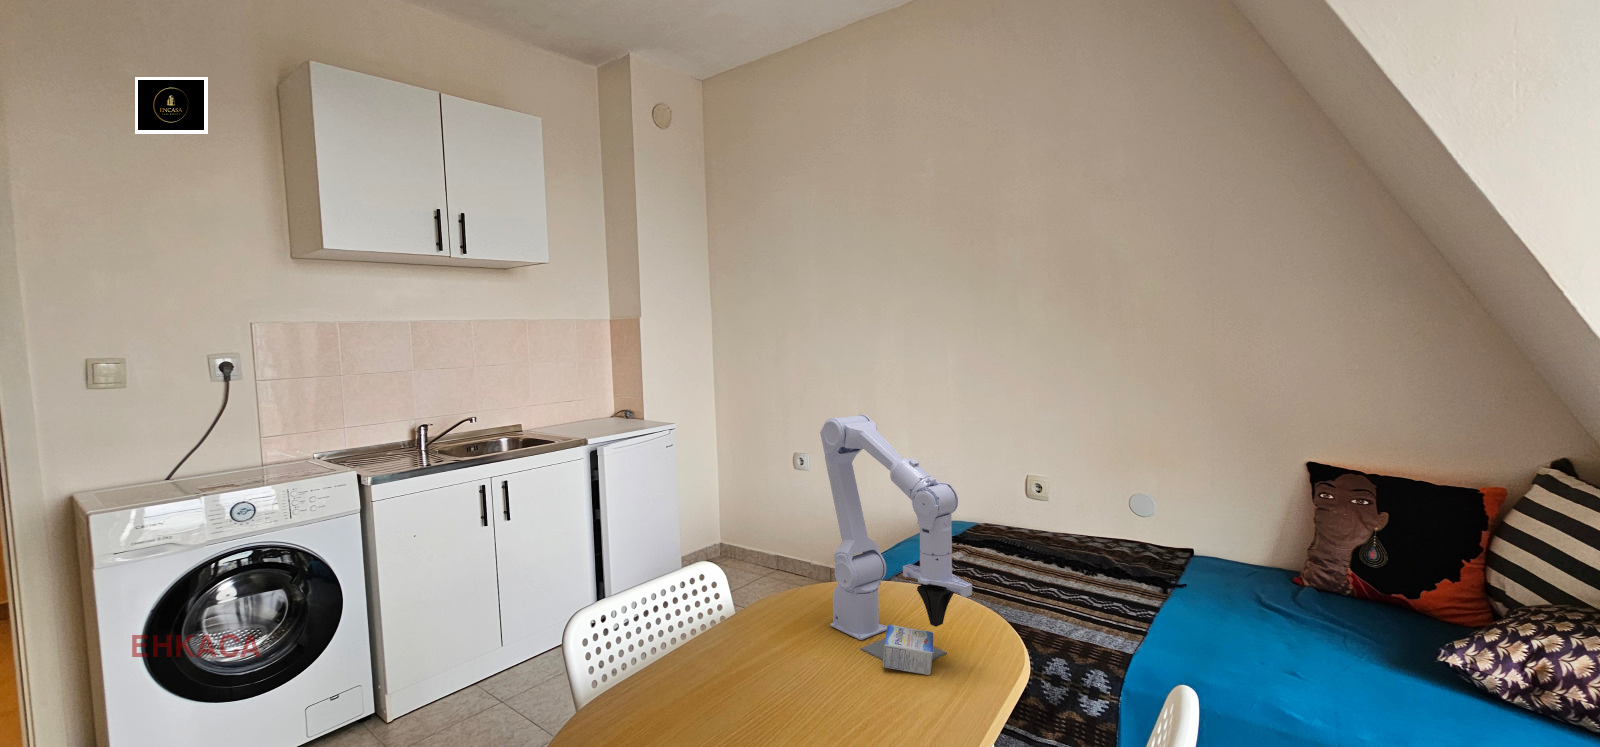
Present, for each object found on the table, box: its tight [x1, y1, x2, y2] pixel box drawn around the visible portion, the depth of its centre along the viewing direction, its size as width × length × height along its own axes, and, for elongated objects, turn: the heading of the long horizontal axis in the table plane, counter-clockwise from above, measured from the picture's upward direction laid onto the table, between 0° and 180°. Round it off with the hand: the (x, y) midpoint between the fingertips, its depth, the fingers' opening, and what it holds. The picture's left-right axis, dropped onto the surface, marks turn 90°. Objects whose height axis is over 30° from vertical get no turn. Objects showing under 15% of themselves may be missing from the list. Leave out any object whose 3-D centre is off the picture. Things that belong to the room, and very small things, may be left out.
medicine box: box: [882, 624, 934, 676], centre depth 124 cm, size 8×4×9 cm
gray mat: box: [860, 637, 948, 673], centre depth 129 cm, size 12×11×1 cm
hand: (936, 624), depth 124 cm, fingers closed
